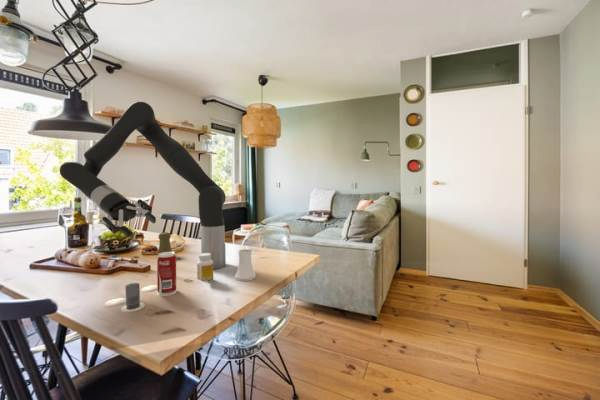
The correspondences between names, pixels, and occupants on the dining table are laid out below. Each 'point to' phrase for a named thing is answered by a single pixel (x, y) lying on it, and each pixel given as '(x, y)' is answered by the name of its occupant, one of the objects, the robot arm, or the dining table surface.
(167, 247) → the olive green pepper shaker
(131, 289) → the pin
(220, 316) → the dining table surface
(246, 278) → the salt shaker
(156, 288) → the white oval discs
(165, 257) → the soda can
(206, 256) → the supplement bottle
